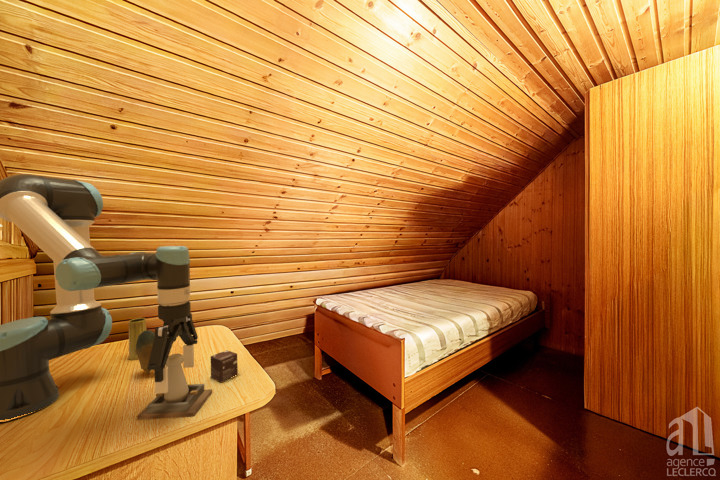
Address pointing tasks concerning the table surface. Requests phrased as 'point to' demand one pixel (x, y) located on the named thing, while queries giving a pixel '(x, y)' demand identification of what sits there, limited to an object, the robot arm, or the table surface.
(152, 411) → the base
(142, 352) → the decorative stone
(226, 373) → the box
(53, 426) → the table surface
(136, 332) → the vase
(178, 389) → the salt shaker
